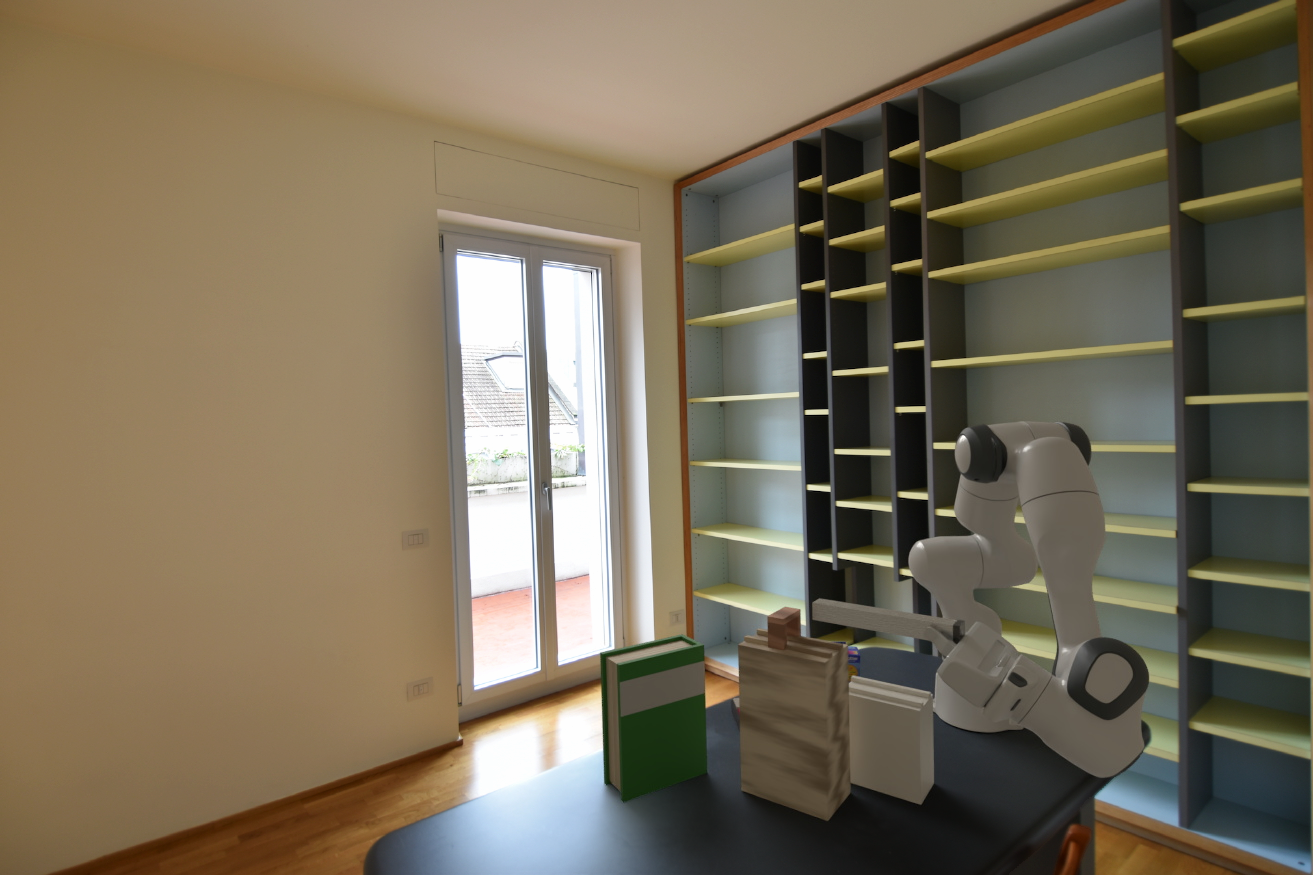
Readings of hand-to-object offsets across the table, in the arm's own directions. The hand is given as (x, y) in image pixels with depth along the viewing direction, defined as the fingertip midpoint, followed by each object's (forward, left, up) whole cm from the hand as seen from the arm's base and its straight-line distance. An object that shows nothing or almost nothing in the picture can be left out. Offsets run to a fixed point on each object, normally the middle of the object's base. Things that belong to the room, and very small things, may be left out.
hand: (930, 625), depth 108 cm
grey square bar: (0, -7, -2) cm, 7 cm away
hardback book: (+14, -45, -32) cm, 57 cm away
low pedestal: (-8, -10, -32) cm, 35 cm away
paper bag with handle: (+4, -22, -32) cm, 39 cm away
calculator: (-19, -39, -33) cm, 54 cm away
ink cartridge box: (-35, -30, -32) cm, 56 cm away
